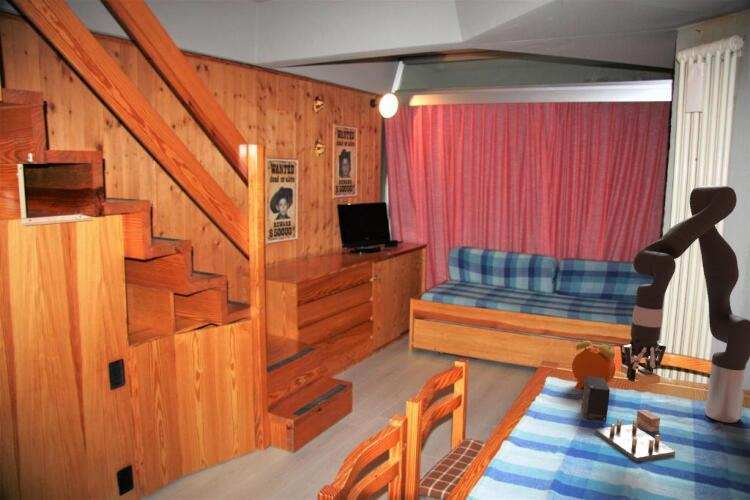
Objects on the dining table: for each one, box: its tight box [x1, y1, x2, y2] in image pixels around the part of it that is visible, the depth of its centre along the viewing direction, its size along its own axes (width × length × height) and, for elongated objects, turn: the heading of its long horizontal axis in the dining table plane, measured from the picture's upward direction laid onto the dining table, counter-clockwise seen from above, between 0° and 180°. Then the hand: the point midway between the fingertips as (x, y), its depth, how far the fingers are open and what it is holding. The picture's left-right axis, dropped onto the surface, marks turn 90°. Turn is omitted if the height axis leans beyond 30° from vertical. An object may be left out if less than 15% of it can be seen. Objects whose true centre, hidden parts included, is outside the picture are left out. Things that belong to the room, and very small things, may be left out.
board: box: [619, 364, 661, 385], centre depth 169 cm, size 5×10×3 cm, turn 16°
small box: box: [581, 376, 611, 422], centre depth 188 cm, size 11×6×10 cm, turn 168°
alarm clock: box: [571, 332, 616, 390], centre depth 207 cm, size 13×6×20 cm, turn 49°
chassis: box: [594, 419, 676, 462], centre depth 169 cm, size 13×17×4 cm
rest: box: [636, 409, 661, 433], centre depth 181 cm, size 3×6×4 cm, turn 18°
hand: (639, 379), depth 169 cm, fingers closed on board, 5 cm apart
